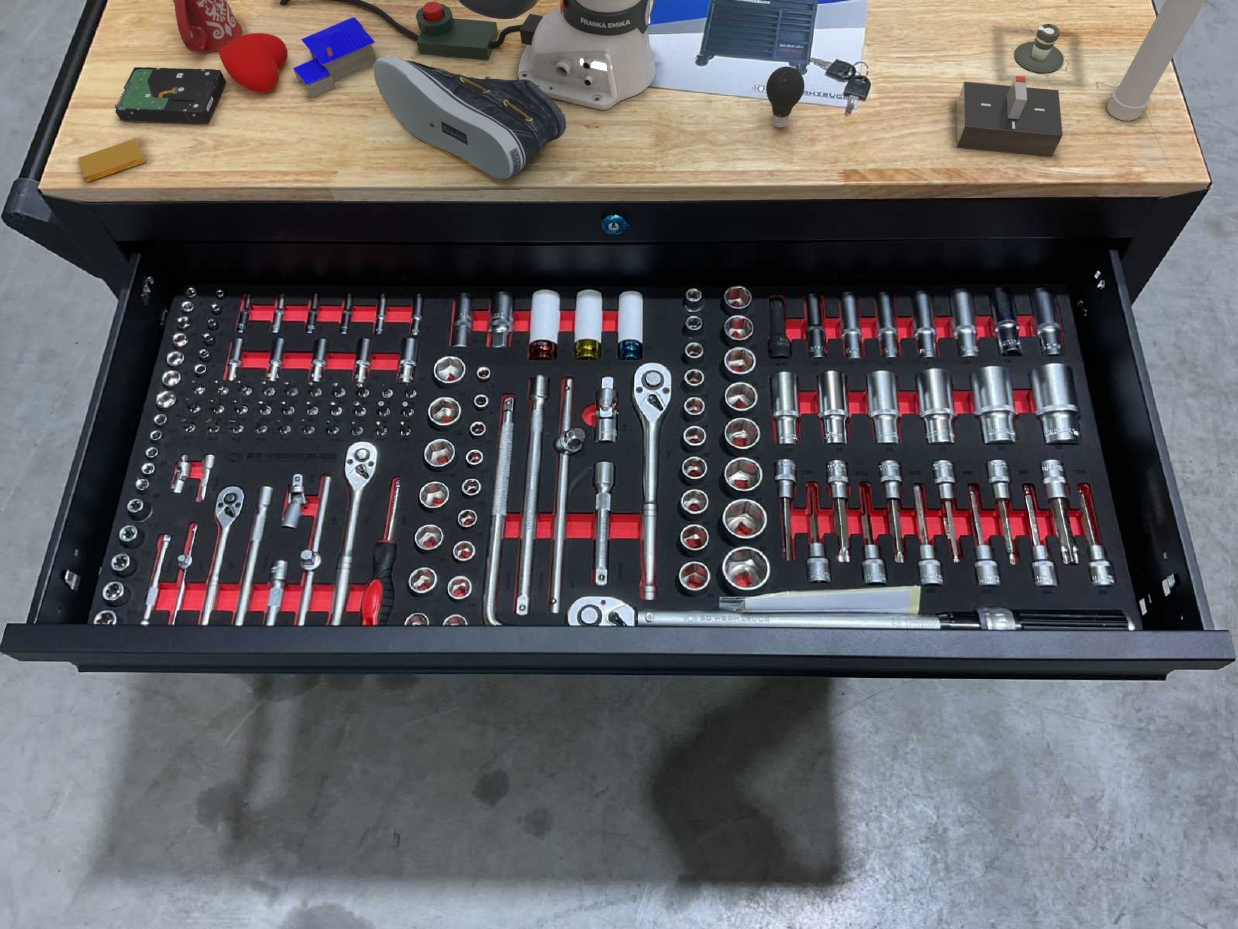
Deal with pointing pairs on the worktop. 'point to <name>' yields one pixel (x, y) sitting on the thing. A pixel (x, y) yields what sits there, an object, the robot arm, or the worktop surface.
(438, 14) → the button
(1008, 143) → the lever switch box
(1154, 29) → the pipe
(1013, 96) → the grey switch knob
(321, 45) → the house
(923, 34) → the worktop surface
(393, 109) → the boat shoe
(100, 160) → the golden brown flat block
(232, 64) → the heart
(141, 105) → the disk drive
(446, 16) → the button box
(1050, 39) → the grey disc with post
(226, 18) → the mug
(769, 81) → the light bulb
